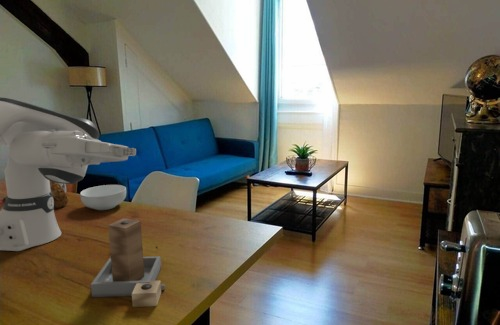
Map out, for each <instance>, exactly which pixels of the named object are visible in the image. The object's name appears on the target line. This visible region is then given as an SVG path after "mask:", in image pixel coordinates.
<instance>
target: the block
mask: <svg viewBox="0 0 500 325" xmlns="http://www.w3.org/2000/svg"><path fill="white" fill-rule="evenodd" d="M107 228H108V239H109V251H110V253H109V254H110V258H111V265H112V277H113V282H118V281H138V280H140V279H141V278H143V277H144V263H143V257H144V250H143V238H142V237H143V234H142V221H141V220H137V219H130V218H125V217H122V218H121V219H119V220H116V221H114V222H112V223H110V224H108V225H107Z"/></svg>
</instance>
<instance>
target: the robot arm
mask: <svg viewBox="0 0 500 325" xmlns="http://www.w3.org/2000/svg"><path fill="white" fill-rule="evenodd" d="M99 137H100V133H99V130H98V128H97V127H96V125H95V124H94V123H93V121H91V120H89V119H87V118H83V117H80V116H76V115H75V116H74V115H70V114H65V113H61V112H59V111H56V110H52V109H48V108H44V107H41V106H39V105H35V104H32V103H28V102H24V101H22V100H17V99H13V98H9V97H0V145H1V146H3V147H4V146H5V147H8V155H7V156H8V157H7V164H6V167H5V169H4V172H3V173H4V178H5V186H6V192H7V193H6V195H7V196H5V197H3V198H2V199H0V205H3V206H2V209H0V251H8V252H9V251H13V252H21V251H24V250H26V249H29V248H33V247H36V246H42V245H44V244H47V243H49V242H52V241H54V240H56V239H59V237H61V235H62V231H61V229H60V227H59V225H58V221H57V218H56V215H55V208H54V200H53V194H52V191H51V190H50V181H52V182H56V183H63V184H66V185H73V184H76V183H78V182H81V181H83V179H84V177H85V176H86V173H87V170H88V166H95V165H97V166H98V165H100V164H101V163H111V162H112V163H113V162H114V163H115V162H125V161H128V159H129V157H135V156H136V155H137V149H136V148H134V147H129V146H126V145H123V144H117V143H115V144H114V143H110V142H104V141H101V140H99ZM49 180H50V181H49Z"/></svg>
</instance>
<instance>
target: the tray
mask: <svg viewBox="0 0 500 325" xmlns="http://www.w3.org/2000/svg"><path fill="white" fill-rule="evenodd" d="M161 260H162V259H161V256H159V255H158V256H143V263H144V277H143V278H141V279H140V280H138V281H118V282H113V277H112V265H111V257H109V258H108V260H107V261H106V263H105V264H104V265H103V267H102V268H101V269H100V271H99V272H98V274H97V275H96V276H95V278H94V279H93V280H92V282H91V283H90V290H91V297H92V298H104V297H106V298H107V297H111V298H113V297H132V292H133V290H134V288H135V286H136V284H137V283H150V281H158V276H159V274H160V271H161V269H162V261H161Z"/></svg>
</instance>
